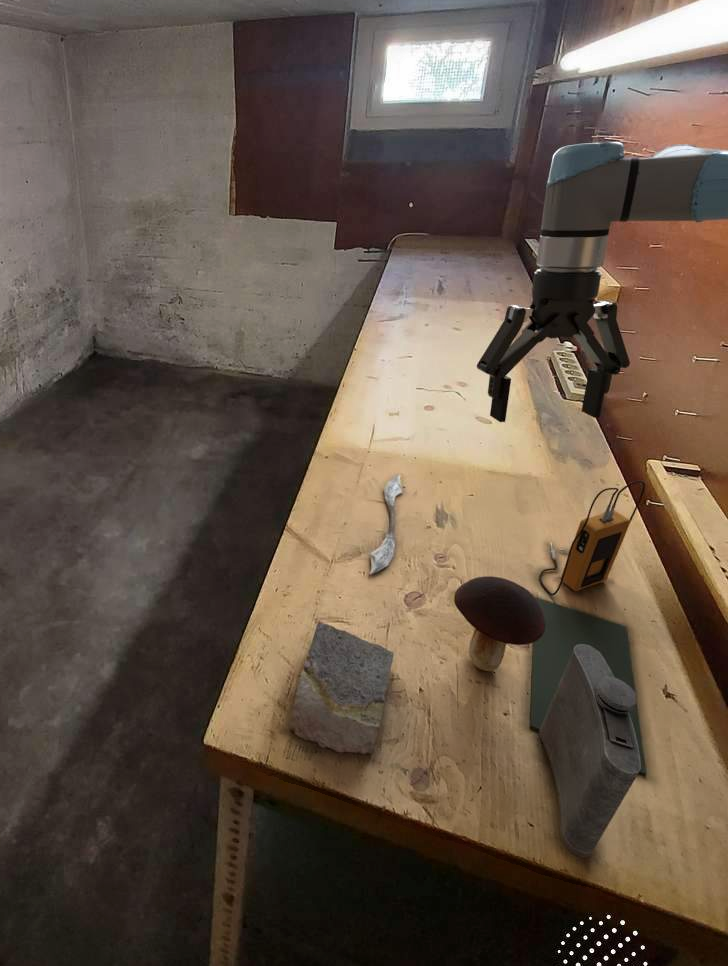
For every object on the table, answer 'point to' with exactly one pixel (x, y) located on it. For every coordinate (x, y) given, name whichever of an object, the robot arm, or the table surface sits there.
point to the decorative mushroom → (498, 618)
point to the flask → (590, 747)
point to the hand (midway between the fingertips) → (543, 416)
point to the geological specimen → (341, 691)
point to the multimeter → (594, 546)
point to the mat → (556, 651)
